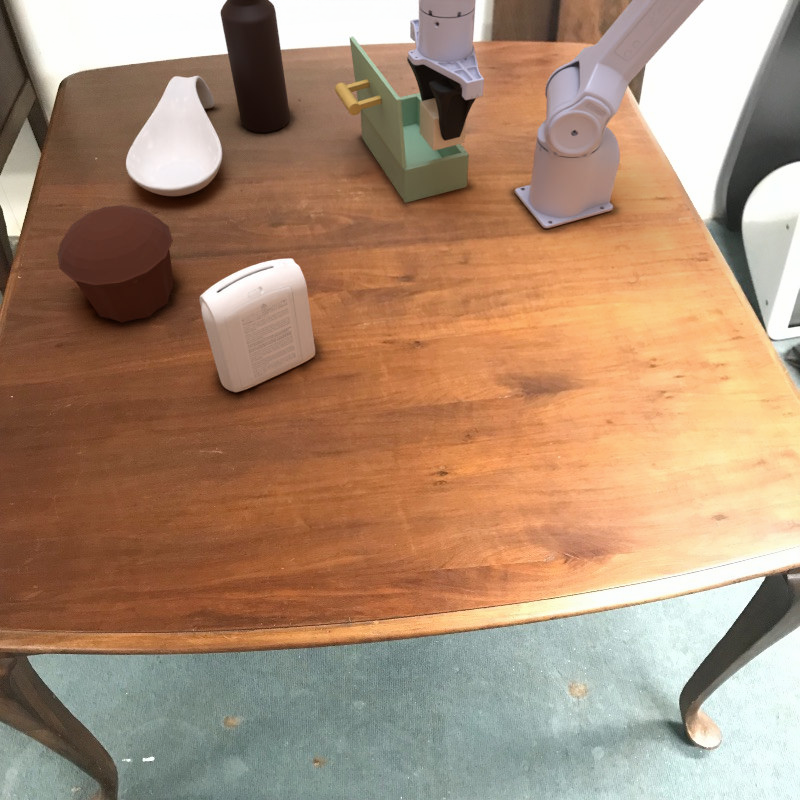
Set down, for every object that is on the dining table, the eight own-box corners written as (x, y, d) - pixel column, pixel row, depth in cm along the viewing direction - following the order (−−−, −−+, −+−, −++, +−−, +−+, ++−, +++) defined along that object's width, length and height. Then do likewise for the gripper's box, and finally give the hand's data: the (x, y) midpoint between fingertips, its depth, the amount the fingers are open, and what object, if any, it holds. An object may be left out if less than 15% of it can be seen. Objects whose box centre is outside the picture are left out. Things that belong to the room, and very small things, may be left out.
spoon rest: (223, 209, 95) (211, 158, 89) (126, 213, 95) (108, 162, 89) (238, 105, 110) (229, 56, 104) (155, 108, 109) (141, 59, 104)
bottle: (300, 115, 108) (280, -38, 92) (269, 139, 104) (244, -16, 89) (261, 102, 110) (237, -50, 95) (230, 125, 107) (199, -29, 91)
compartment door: (353, 36, 93) (317, 46, 92) (400, 98, 84) (361, 110, 83) (361, 103, 100) (328, 113, 100) (406, 167, 91) (370, 178, 90)
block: (450, 125, 91) (451, 93, 88) (464, 143, 89) (466, 111, 86) (419, 132, 90) (419, 101, 87) (433, 151, 88) (434, 119, 85)
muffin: (98, 346, 81) (65, 273, 73) (64, 285, 86) (30, 213, 79) (203, 301, 85) (182, 228, 77) (164, 246, 90) (140, 173, 83)
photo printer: (302, 332, 82) (288, 239, 72) (323, 357, 79) (310, 264, 70) (213, 373, 78) (185, 281, 68) (232, 400, 76) (205, 310, 66)
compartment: (419, 124, 106) (419, 92, 102) (467, 187, 97) (469, 154, 93) (361, 138, 104) (360, 105, 100) (405, 203, 95) (404, 170, 91)
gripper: (383, -17, 81) (386, 103, 92) (440, 45, 73) (436, 169, 84) (444, -29, 83) (440, 90, 94) (507, 30, 75) (495, 154, 85)
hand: (442, 126), depth 89 cm, fingers closed on block, 4 cm apart
